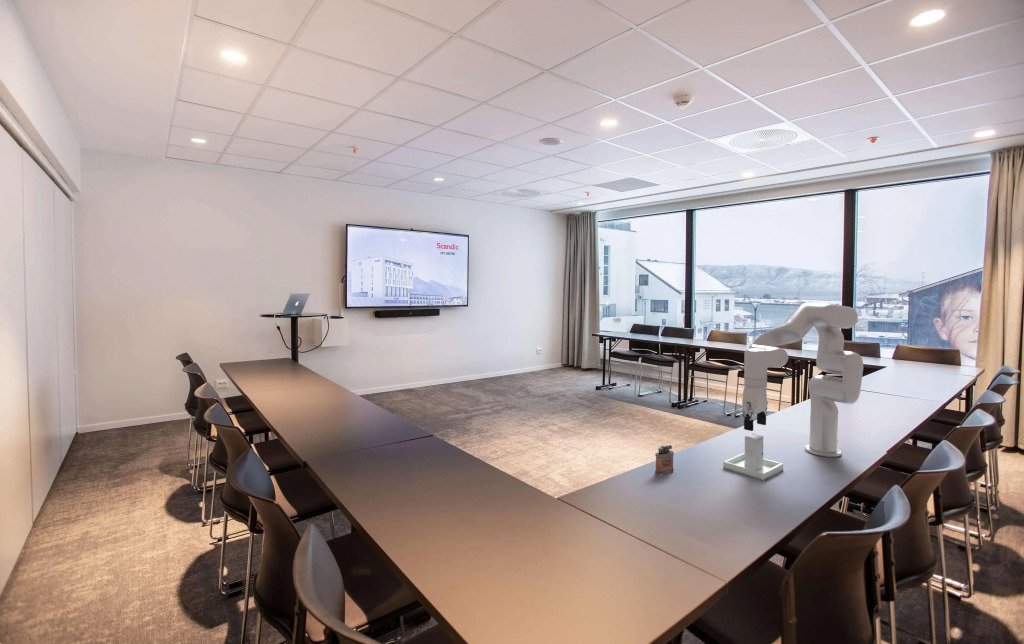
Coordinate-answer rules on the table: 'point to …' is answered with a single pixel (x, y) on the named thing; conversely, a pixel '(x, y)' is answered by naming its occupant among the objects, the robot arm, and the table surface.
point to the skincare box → (753, 451)
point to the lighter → (664, 460)
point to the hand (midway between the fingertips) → (755, 427)
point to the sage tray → (762, 473)
